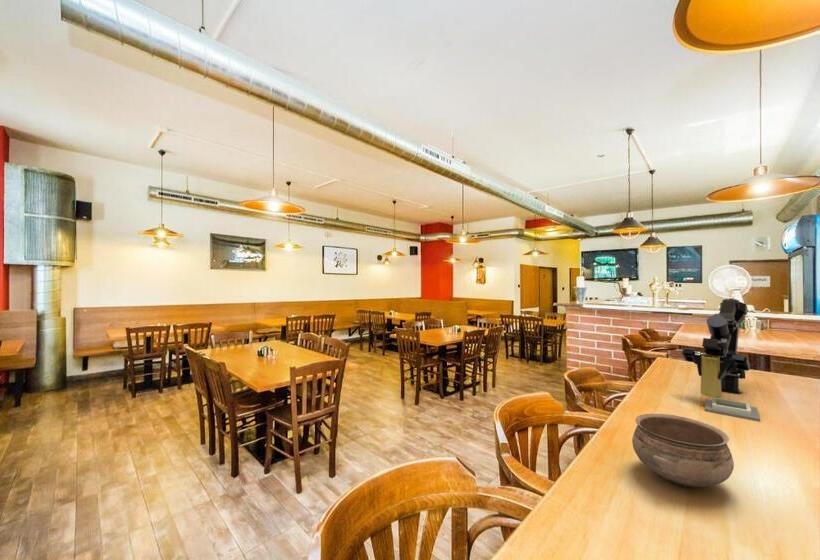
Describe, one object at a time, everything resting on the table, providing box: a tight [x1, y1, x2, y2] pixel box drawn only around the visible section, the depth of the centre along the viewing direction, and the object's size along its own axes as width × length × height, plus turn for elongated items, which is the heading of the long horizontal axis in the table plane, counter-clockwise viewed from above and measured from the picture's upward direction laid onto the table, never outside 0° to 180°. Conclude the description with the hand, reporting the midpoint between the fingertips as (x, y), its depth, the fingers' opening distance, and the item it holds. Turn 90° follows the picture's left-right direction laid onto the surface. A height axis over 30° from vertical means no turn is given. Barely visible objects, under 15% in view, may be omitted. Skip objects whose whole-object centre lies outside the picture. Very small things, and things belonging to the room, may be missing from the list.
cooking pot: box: [631, 413, 735, 488], centre depth 83 cm, size 25×19×12 cm
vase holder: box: [704, 397, 761, 422], centre depth 125 cm, size 14×14×2 cm
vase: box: [699, 355, 723, 398], centre depth 129 cm, size 6×6×14 cm
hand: (709, 377), depth 128 cm, fingers closed on vase, 5 cm apart
